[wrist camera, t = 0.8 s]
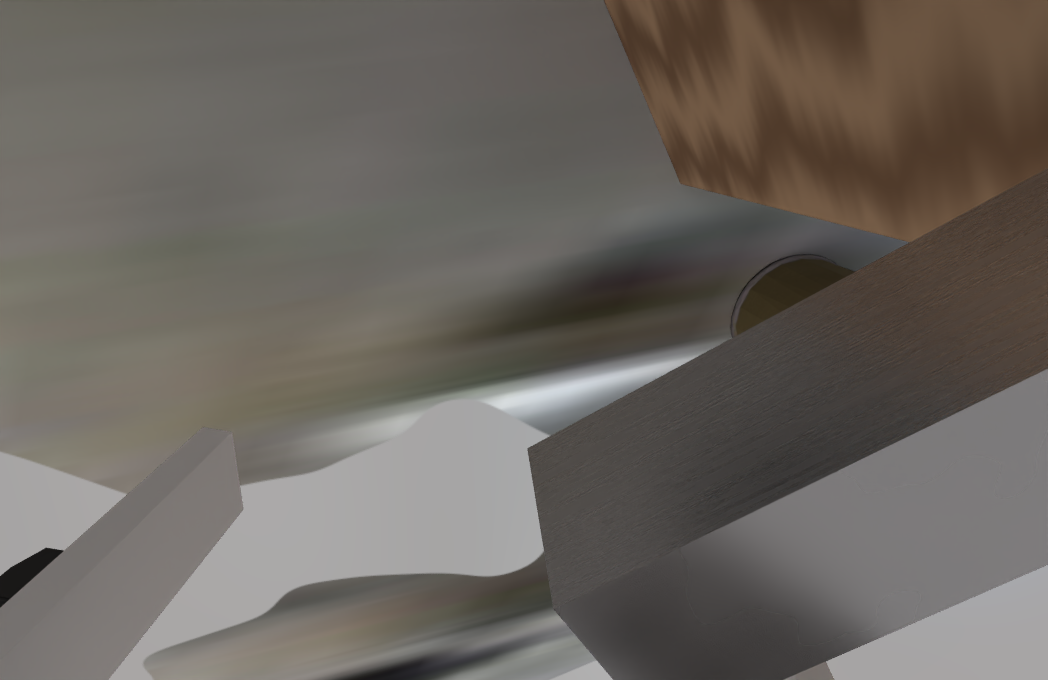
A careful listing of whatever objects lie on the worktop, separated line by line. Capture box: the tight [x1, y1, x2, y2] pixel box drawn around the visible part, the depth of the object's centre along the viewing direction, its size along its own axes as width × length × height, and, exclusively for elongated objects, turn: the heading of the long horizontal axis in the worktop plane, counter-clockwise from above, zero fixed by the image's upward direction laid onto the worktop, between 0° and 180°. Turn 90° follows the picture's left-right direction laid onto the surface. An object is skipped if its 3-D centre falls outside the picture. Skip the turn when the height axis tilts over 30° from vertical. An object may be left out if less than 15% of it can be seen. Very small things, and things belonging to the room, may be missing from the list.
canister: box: [731, 255, 854, 338], centre depth 32 cm, size 11×10×20 cm
